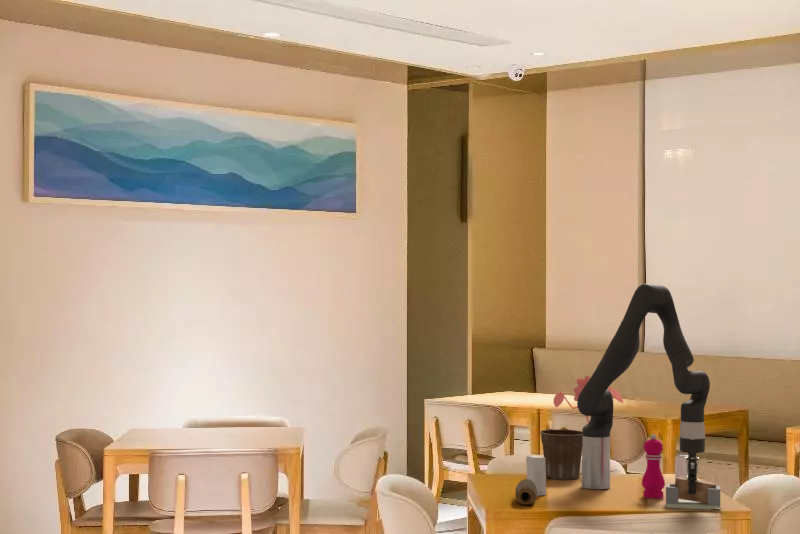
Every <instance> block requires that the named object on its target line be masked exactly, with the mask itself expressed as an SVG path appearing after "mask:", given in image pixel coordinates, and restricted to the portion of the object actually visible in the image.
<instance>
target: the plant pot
mask: <svg viewBox="0 0 800 534" xmlns="http://www.w3.org/2000/svg"><path fill="white" fill-rule="evenodd" d="M539 434H540V437H541V444H542V451H543V452H542V453H543V454H542V455H543V457H545V464H546V479H552V480H558V481H559V480H560V481H568V480H573V479H574V480H577V479H579V478H580V477H581V466H582V436H583V435H582V430H576V429H575V430H574V429H544V430H540V431H539Z"/></svg>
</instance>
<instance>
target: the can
mask: <svg viewBox="0 0 800 534" xmlns="http://www.w3.org/2000/svg"><path fill="white" fill-rule="evenodd" d="M686 457H688V453H677V454H676V457H675V458H674V481H675V480H676V477H681V478H687V479H688V474H687V471H686Z"/></svg>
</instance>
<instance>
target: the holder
mask: <svg viewBox="0 0 800 534" xmlns="http://www.w3.org/2000/svg"><path fill="white" fill-rule="evenodd" d="M665 508H670V509H671V508H672V509H689V510H690V509H691V510H692V509H694V510H695V509H696V510H711V509H716V508H717V509H718V508H720V509H721V486H720V485H716V489H713V488H708V504H706V503H701V502H695V501H690V500H684V499H678V487H675V483H665Z"/></svg>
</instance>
